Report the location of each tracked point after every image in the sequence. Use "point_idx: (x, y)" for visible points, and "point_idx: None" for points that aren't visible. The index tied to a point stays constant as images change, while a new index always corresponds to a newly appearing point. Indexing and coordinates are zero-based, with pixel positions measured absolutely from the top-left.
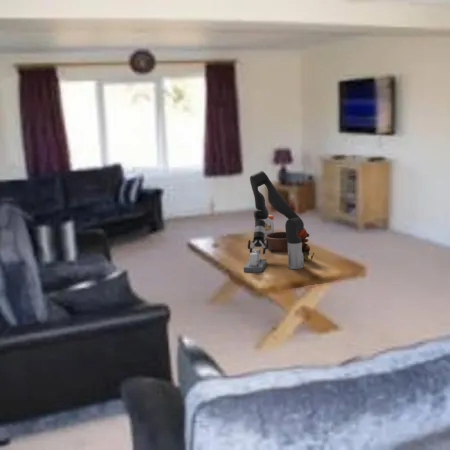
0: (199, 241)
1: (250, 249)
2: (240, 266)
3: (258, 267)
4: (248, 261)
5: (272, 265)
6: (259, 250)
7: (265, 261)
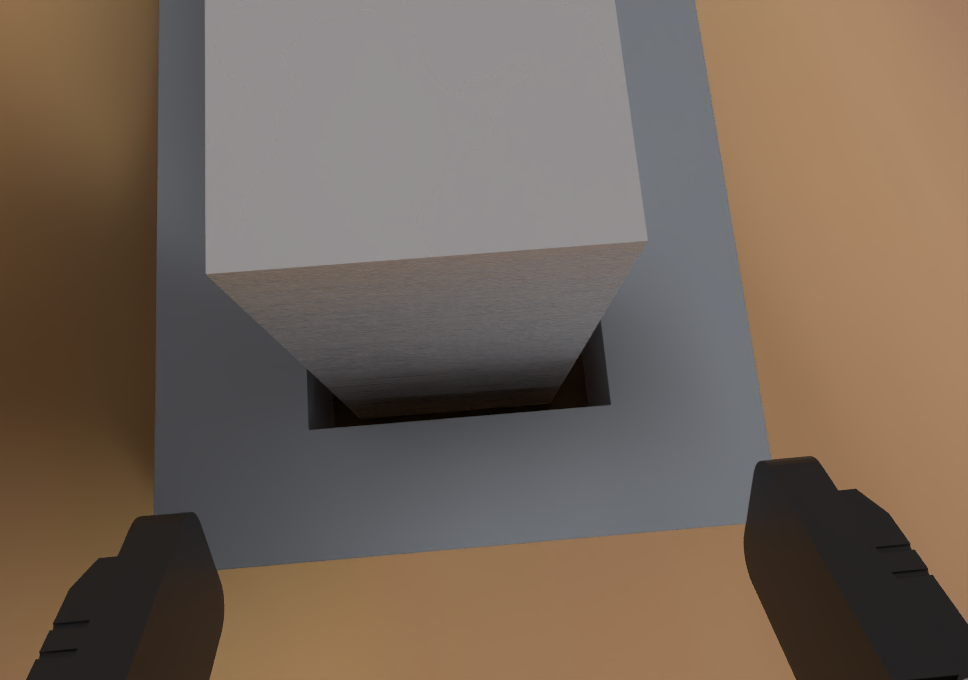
0: None
1: (943, 639)
2: (866, 169)
3: None
4: (702, 202)
5: (8, 342)
6: (217, 32)
7: (162, 311)
